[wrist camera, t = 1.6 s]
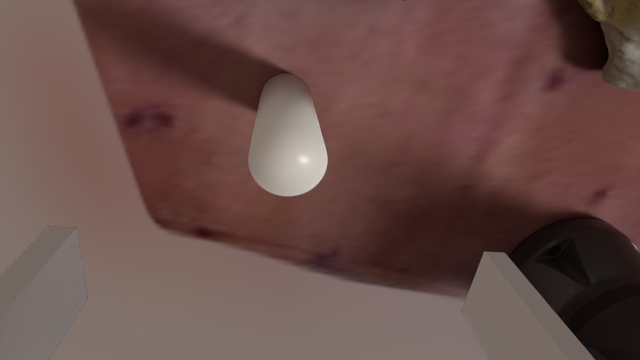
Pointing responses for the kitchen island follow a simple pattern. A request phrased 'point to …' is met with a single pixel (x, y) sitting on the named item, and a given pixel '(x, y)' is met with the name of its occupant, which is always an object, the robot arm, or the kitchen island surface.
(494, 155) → the kitchen island surface
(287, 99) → the white tapered capsule
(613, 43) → the ceramic sculpture
